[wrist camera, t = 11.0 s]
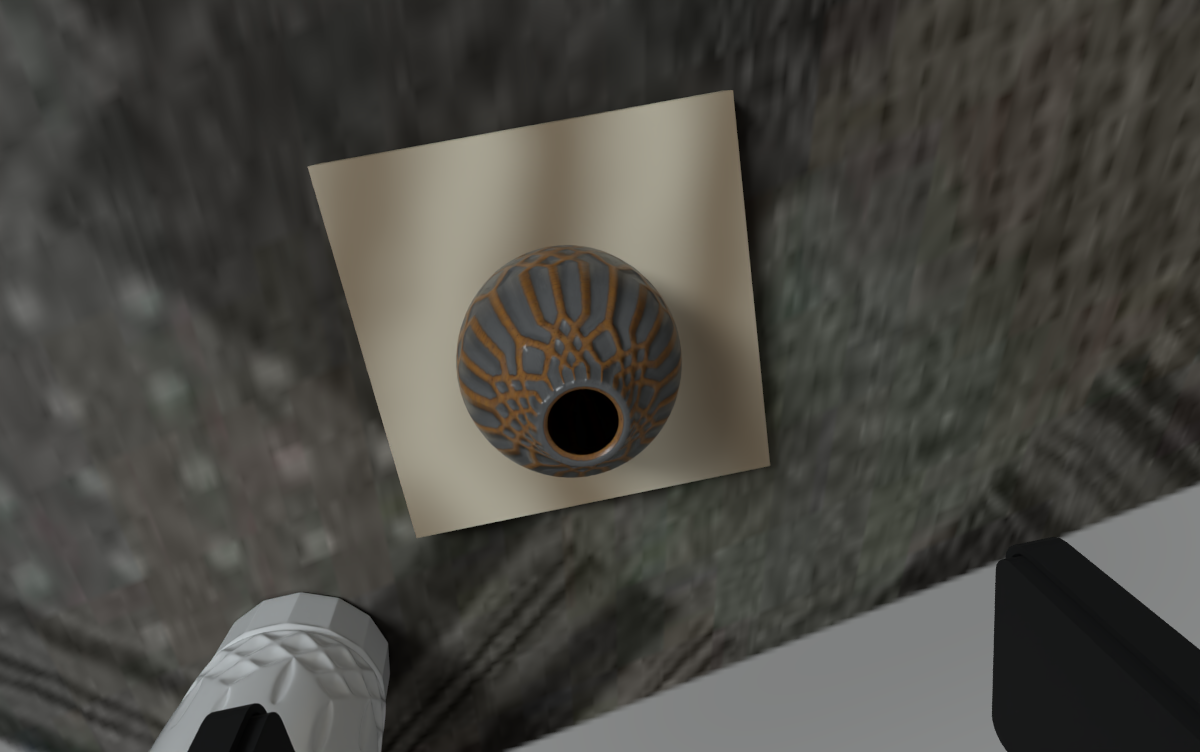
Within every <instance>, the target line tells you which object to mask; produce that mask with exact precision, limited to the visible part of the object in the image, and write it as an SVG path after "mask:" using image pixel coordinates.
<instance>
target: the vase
mask: <svg viewBox="0 0 1200 752" xmlns="http://www.w3.org/2000/svg"><path fill="white" fill-rule="evenodd" d="M456 370H457V379H458V383H459V388H460V392H461V395H462V398H463V401H464V404H465V406H466V408H467V411H468V412H469V414H470V416H471V418H472V420H473V422H474V423H475V425H476V426H477V428H478V429H479V430H480V432H481V433H482V434H483V436H484V437H485V438H486V439H487V440H488V441H489V442H490V444H491V445H493V446H494V447H495V448H496V449H497V450H498V451H499V452H500V453H502V454H503V455H504V456H505V457H507V458H508V459H510V460H511V461H513V462H515V463H516V464H518V465H520V466H522V467H524V468H527V469H529V470H532V471H534V472H537V473H541V474H544V475H549V476H554V477H564V478H577V477H587V476H592V475H597V474H601V473H604V472H607V471H610V470H612V469H615V468H617V467H619V466H621V465H623V464H625V463H626V462H628V461H630V460H631V459H633V458H634V457H635V456H637V455H638V454H639V453H641V452H642V451H643V450H644V449H645V448H646V447H647V446H648V445H649V444H650V443H651V442H652V441H653V440H654V439H655V437H656V436H657V435H658V434H659V432H660V431H661V430H662V428H663V426H664V425H665V423H666V421H667V420H668V418H669V416H670V413H671V411H672V409H673V407H674V404H675V401H676V398H677V394H678V391H679V386H680V380H681V371H682V353H681V345H680V339H679V335H678V331H677V327H676V324H675V321H674V319H673V316H672V314H671V312H670V310H669V308H668V306H667V305H666V303H665V301H664V300H663V298H662V296H661V295H660V294H659V292H658V291H657V290H656V288H655V287H654V286H653V285H652V284H651V283H650V282H649V281H648V280H647V279H646V278H645V277H644V276H643V275H642V274H641V273H640V272H639V271H638V270H636V269H635V268H634V267H632V266H631V265H629V264H628V263H626V262H625V261H623V260H621V259H620V258H618V257H616V256H614V255H612V254H609V253H607V252H604V251H602V250H598V249H595V248H590V247H585V246H577V245H558V246H550V247H545V248H540V249H537V250H533V251H531V252H528V253H525V254H523V255H521V256H519V257H517V258H515V259H513V260H511V261H510V262H508V263H507V264H505V265H504V266H502V267H501V268H500V269H498V270H497V271H496V272H495V273H494V274H493V275H492V276H491V277H490V278H489V279H488V280H487V281H486V282H485V283H484V284H483V286H482V287H481V288H480V290H479V291H478V292H477V294H476V296H475V297H474V299H473V300H472V302H471V304H470V306H469V307H468V310H467V312H466V314H465V317H464V320H463V323H462V326H461V329H460V333H459V337H458V343H457V353H456Z"/></svg>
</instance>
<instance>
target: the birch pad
mask: <svg viewBox="0 0 1200 752" xmlns="http://www.w3.org/2000/svg"><path fill="white" fill-rule="evenodd" d="M308 170H309V173H310V176H311V180H312V183H313V187H314V190H315V193H316V197H317V200H318V204H319V207H320V210H321V214H322V217H323V221H324V224H325V227H326V231H327V234H328V238H329V241H330V244H331V248H332V251H333V255H334V258H335V261H336V265H337V268H338V272H339V275H340V278H341V282H342V285H343V289H344V292H345V295H346V299H347V302H348V306H349V309H350V312H351V316H352V319H353V323H354V326H355V329H356V333H357V336H358V340H359V343H360V346H361V350H362V353H363V357H364V360H365V363H366V367H367V370H368V374H369V377H370V380H371V384H372V387H373V391H374V394H375V398H376V401H377V404H378V408H379V411H380V415H381V418H382V421H383V425H384V428H385V432H386V435H387V438H388V442H389V445H390V449H391V452H392V455H393V459H394V462H395V466H396V469H397V472H398V476H399V479H400V483H401V486H402V489H403V493H404V496H405V500H406V503H407V506H408V510H409V513H410V517H411V520H412V523H413V527H414V530H415V534H416V537H417V538H419V537H424V536H429V535H434V534H439V533H444V532H449V531H454V530H459V529H463V528H468V527H473V526H478V525H483V524H488V523H493V522H498V521H503V520H508V519H512V518H517V517H522V516H527V515H532V514H537V513H542V512H547V511H552V510H556V509H561V508H566V507H571V506H576V505H581V504H586V503H591V502H596V501H601V500H605V499H610V498H615V497H620V496H625V495H630V494H635V493H640V492H645V491H649V490H654V489H659V488H664V487H669V486H674V485H679V484H684V483H689V482H693V481H698V480H703V479H708V478H713V477H718V476H723V475H728V474H733V473H738V472H742V471H747V470H752V469H757V468H762V467H767V466H770V459H769V449H768V439H767V429H766V419H765V409H764V399H763V389H762V378H761V368H760V358H759V348H758V338H757V328H756V318H755V308H754V298H753V288H752V278H751V268H750V258H749V248H748V237H747V227H746V217H745V207H744V197H743V187H742V177H741V167H740V157H739V147H738V137H737V127H736V117H735V107H734V96H733V90H726V91H719V92H714V93H708V94H702V95H697V96H691V97H686V98H680V99H675V100H669V101H664V102H658V103H653V104H647V105H642V106H636V107H630V108H625V109H619V110H614V111H608V112H603V113H597V114H592V115H586V116H581V117H575V118H570V119H564V120H559V121H553V122H547V123H542V124H536V125H531V126H525V127H520V128H514V129H509V130H503V131H498V132H492V133H487V134H481V135H476V136H470V137H464V138H459V139H453V140H448V141H442V142H437V143H431V144H426V145H420V146H415V147H409V148H404V149H398V150H393V151H387V152H381V153H376V154H370V155H365V156H359V157H354V158H348V159H343V160H337V161H332V162H326V163H321V164H316V165H312V166H309V167H308ZM558 245H577V246H585V247H590V248H595V249H598V250H602V251H604V252H607V253H609V254H612V255H614V256H616V257H618V258H620V259H621V260H623V261H625V262H626V263H628V264H629V265H631V266H632V267H634V268H635V269H636V270H638V271H639V272H640V273H641V274H642V275H643V276H644V277H645V278H646V279H647V280H648V281H649V282H650V283H651V284H652V285H653V286H654V287H655V288H656V290H657V291H658V292H659V294H660V295H661V296H662V298H663V300H664V301H665V303H666V305H667V306H668V308H669V310H670V312H671V314H672V316H673V319H674V321H675V324H676V327H677V331H678V335H679V339H680V345H681V353H682V371H681V380H680V386H679V391H678V394H677V398H676V401H675V404H674V407H673V409H672V411H671V413H670V416H669V418H668V420H667V421H666V423H665V425H664V426H663V428H662V430H661V431H660V432H659V434H658V435H657V436H656V437H655V439H654V440H653V441H652V442H651V443H650V444H649V445H648V446H647V447H646V448H645V449H644V450H643V451H642V452H641V453H639V454H638V455H637V456H635V457H634V458H633V459H631V460H630V461H628V462H626V463H625V464H623V465H621V466H619V467H617V468H615V469H612V470H610V471H607V472H604V473H601V474H597V475H592V476H587V477H577V478H564V477H554V476H549V475H544V474H541V473H537V472H534V471H532V470H529V469H527V468H524V467H522V466H520V465H518V464H516V463H515V462H513V461H511V460H510V459H508V458H507V457H505V456H504V455H503V454H502V453H500V452H499V451H498V450H497V449H496V448H495V447H494V446H493V445H491V444H490V442H489V441H488V440H487V439H486V438H485V437H484V436H483V434H482V433H481V432H480V430H479V429H478V428H477V426H476V425H475V423H474V422H473V420H472V418H471V416H470V414H469V412H468V411H467V408H466V406H465V404H464V401H463V398H462V395H461V392H460V388H459V383H458V379H457V370H456V353H457V343H458V337H459V333H460V329H461V326H462V323H463V320H464V317H465V314H466V312H467V310H468V307H469V306H470V304H471V302H472V300H473V299H474V297H475V296H476V294H477V292H478V291H479V290H480V288H481V287H482V286H483V284H484V283H485V282H486V281H487V280H488V279H489V278H490V277H491V276H492V275H493V274H494V273H495V272H496V271H497V270H498V269H500V268H501V267H502V266H504V265H505V264H507V263H508V262H510V261H511V260H513V259H515V258H517V257H519V256H521V255H523V254H525V253H528V252H531V251H533V250H537V249H540V248H545V247H550V246H558Z"/></svg>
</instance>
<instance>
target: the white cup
mask: <svg viewBox="0 0 1200 752" xmlns="http://www.w3.org/2000/svg"><path fill="white" fill-rule="evenodd" d="M389 677H390V665H389V650H388V642H387V640H386V639H385V637H384V636H383V635H382V633H381V632H380V630H379V629H378V627H377V626H376V624H375V623H374V621H373V620H372V618H371V617H370V616H369V615H367V614H366V613H364V612H362V611H361V610H359V609H357V608H356V607H354V606H352V605H350V604H349V603H347V602H345V601H344V600H342V599H340V598H337V597H330V596H324V595H317V594H311V593H304V592H299V593H295V594H290V595H286V596H281V597H277V598H272V599H268V600H264V601H262V602H261V603H260V604H258V605H257V606H256V607H254V608H253V609H252V610H250V611H249V612H247V613H246V614H245V615H243V616H242V617H241V618H239V619H238V620H237V621H236V622H235V623H234V624H233V626H232V627H231V629H230V631H229V632H228V634H227V636H226V637H225V639H224V641H223V642H222V644H221V646H220V647H219V649H218V651H217V652H216V654H215V655H214V657H213V659H212V660H211V662H210V663H209V664H208V665H207V666H206V667H205V669H204V670H203V671H202V672H201V673H200V675H199V676H198V677H197V679H196V680H195V682H194V683H193V685H192V686H191V688H190V689H189V691H188V692H187V694H186V695H185V697H184V699H183V700H182V702H181V703H180V705H179V706H178V707H177V709H176V710H175V712H174V713H173V715H172V716H171V718H170V719H169V721H168V722H167V724H166V725H165V727H164V728H163V730H162V731H161V733H160V734H159V736H158V738H157V739H156V741H155V742H154V744H153V746H152V747H151V749H150V750H149V752H187V751H188V749H189V747H190V745H191V743H192V741H193V739H194V737H195V735H196V733H197V731H198V729H199V727H200V725H201V723H202V722H203V720H204V719H205V717H206V716H207V715H208V714H210V713H211V712H215V711H220V710H225V709H229V708H234V707H239V706H244V705H249V704H253V703H259V704H261V705H262V706H263V707H264V708H265V710H266V712H267V713H270V712H276V713H278V714H279V715H280V717H281V719H282V721H283V724H284V726H285V728H286V731H287V733H288V736H289V738H290V740H291V743H292V745H293V748H294V750H295V752H381V748H382V738H383V733H384V725H385V715H386V695H387V689H388V683H389Z"/></svg>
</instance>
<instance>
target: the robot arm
mask: <svg viewBox="0 0 1200 752" xmlns="http://www.w3.org/2000/svg"><path fill="white" fill-rule="evenodd" d="M995 584H996V585H995V621H994V658H993V696H992V697H993V698H992V720H993V724H994V728H995V730H996V733H997V735H998V737H999V740H1000V741H1001V743H1002V745H1003V746H1004V747H1005V749H1006V751H1007V752H1200V650H1199V649H1198V648H1197V647H1196V646H1194V645H1193V644H1192V643H1191V642H1189V641H1188V640H1187V639H1186V638H1185V637H1183V636H1182V635H1181V634H1180V633H1178V632H1177V631H1176V630H1175V629H1173V628H1172V627H1171V626H1170V625H1169V624H1167V623H1166V622H1165V621H1164V620H1162V619H1161V618H1160V617H1158V616H1157V615H1156V614H1155V613H1154V612H1152V611H1151V610H1150V609H1149V608H1147V607H1146V606H1145V605H1144V604H1142V603H1141V602H1140V601H1139V600H1138V599H1136V598H1135V597H1134V596H1133V595H1131V594H1130V593H1129V592H1128V591H1126V590H1125V589H1124V588H1123V587H1121V586H1120V585H1119V584H1118V583H1116V582H1115V581H1114V580H1113V579H1111V578H1110V577H1109V576H1108V575H1107V574H1105V573H1104V572H1103V571H1102V570H1100V569H1099V568H1098V567H1097V566H1095V565H1094V564H1093V563H1092V562H1090V561H1089V560H1088V559H1087V558H1086V557H1084V556H1083V555H1082V554H1081V553H1079V552H1078V551H1077V550H1075V549H1074V548H1073V547H1072V546H1071V545H1069V544H1068V543H1067V542H1065V541H1064V540H1062V539H1060V538H1056V537H1051V538H1046V539H1041V540H1037V541H1032V542H1027V543H1022V544H1017V545H1013V546H1011V547H1009V549H1008V551H1007V552H1006V558H1005V559H1003V560H1000V561H999V562H998V563H997V566H996V583H995ZM187 752H295V750H294V748H293V745H292V743H291V740H290V738H289V736H288V733H287V731H286V728H285V726H284V724H283V721H282V719H281V717H280V715H279V714H278V713H276V712H270V713H267V712H266V710H265V708H264V707H263V706H262V705H261V704H259V703H253V704H249V705H244V706H239V707H234V708H229V709H225V710H220V711H215V712H211V713H210V714H208V715H207V716H206V717H205V719H204V720H203V722H202V723H201V725H200V727H199V729H198V731H197V733H196V735H195V737H194V739H193V741H192V743H191V745H190V747H189V749H188V751H187Z"/></svg>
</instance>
